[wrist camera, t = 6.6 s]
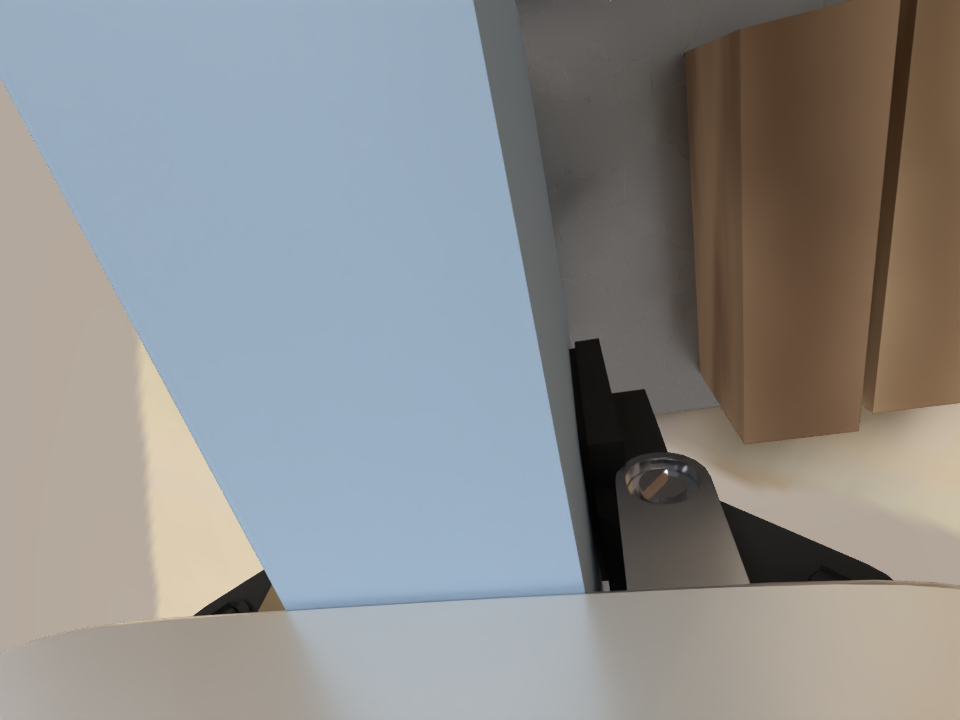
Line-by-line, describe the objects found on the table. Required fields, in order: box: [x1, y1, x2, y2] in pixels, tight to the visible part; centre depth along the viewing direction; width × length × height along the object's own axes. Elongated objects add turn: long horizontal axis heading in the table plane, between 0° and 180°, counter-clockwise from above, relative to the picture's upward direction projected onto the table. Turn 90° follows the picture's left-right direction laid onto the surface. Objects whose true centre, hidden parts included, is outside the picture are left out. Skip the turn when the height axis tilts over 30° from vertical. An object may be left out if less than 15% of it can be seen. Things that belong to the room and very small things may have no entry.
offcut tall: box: [685, 0, 901, 444], centre depth 19 cm, size 4×14×6 cm, turn 12°
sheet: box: [0, 0, 610, 611], centre depth 10 cm, size 2×16×11 cm, turn 12°
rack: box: [515, 0, 851, 415], centre depth 19 cm, size 25×21×9 cm
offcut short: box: [861, 0, 960, 413], centre depth 19 cm, size 4×14×5 cm, turn 13°
